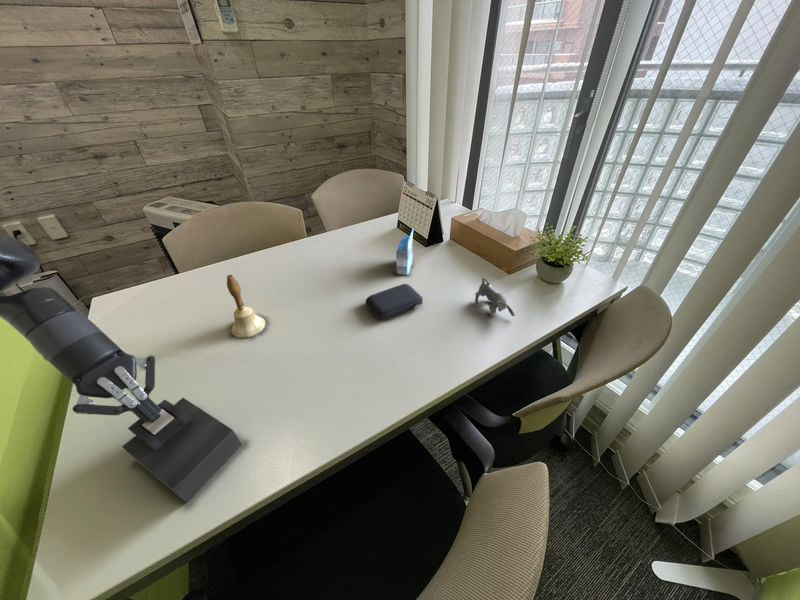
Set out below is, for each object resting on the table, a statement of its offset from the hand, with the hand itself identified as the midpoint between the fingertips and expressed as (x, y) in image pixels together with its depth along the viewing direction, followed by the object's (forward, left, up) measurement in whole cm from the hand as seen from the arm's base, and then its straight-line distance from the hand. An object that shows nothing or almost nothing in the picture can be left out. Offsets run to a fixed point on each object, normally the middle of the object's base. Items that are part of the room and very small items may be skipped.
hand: (156, 419), depth 56 cm
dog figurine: (+76, +15, -8) cm, 78 cm away
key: (0, 0, -2) cm, 2 cm away
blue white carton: (+60, +43, -8) cm, 74 cm away
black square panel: (+3, -3, -7) cm, 9 cm away
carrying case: (+51, +25, -8) cm, 57 cm away
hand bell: (+12, +29, -8) cm, 32 cm away
